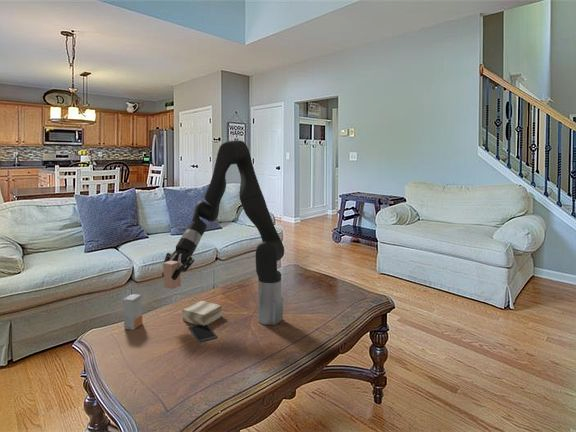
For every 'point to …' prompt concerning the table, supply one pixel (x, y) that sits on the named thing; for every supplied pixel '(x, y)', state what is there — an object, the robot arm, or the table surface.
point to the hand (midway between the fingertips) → (168, 277)
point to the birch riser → (202, 313)
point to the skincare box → (132, 311)
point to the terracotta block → (170, 274)
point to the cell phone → (202, 332)
